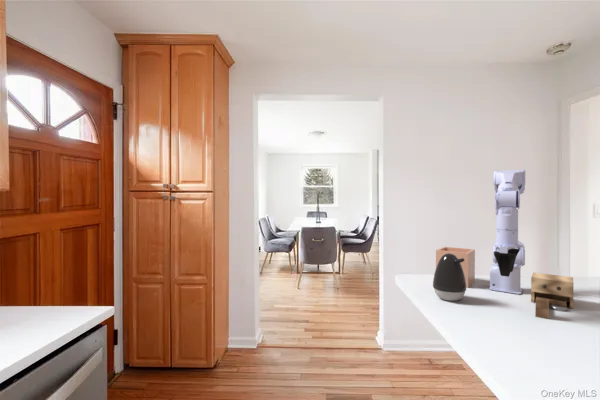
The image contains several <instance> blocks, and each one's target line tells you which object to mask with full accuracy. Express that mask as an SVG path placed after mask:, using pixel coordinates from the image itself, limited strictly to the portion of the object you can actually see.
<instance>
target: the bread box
mask: <svg viewBox="0 0 600 400" xmlns="http://www.w3.org/2000/svg"><path fill="white" fill-rule="evenodd" d="M530 279H531V280H530V281H531V282H530V284H531V285H530V287H531V288H530V291H531V292H530V297H531V298H530V302H531V303H535V302H536V297H541V298H547V299H553V300H559V301H566V303H569V309H571V310H574V277H573V276H566V275H559V274H558V275H557V274H549V273H540V272H533V273H532V275H531V277H530Z"/></svg>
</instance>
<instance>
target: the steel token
mask: <svg viewBox="0 0 600 400" xmlns="http://www.w3.org/2000/svg"><path fill="white" fill-rule="evenodd" d="M549 309H551V310H553V311H557V312H563V313H565V312H568V307H567V305H566V306H563V305H559V304H550V306H549Z"/></svg>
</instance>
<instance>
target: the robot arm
mask: <svg viewBox="0 0 600 400" xmlns="http://www.w3.org/2000/svg"><path fill="white" fill-rule="evenodd" d="M493 187H494V191H495V193H494V207H495V215H496V217H495V218H496V219H495V220H496V221H495V231H496V232H495V238H496V239H495V242H494V243H493V247H492V248H493V249H492V263H493V264H491V265H490V269H489V290H491V291H497V292H501V293H502V292H503V293H509V294H510V293H511V294H514V295H516V294H517V295H521V294H522V291H523V288H522V287H521V269H522V267H524V266H525V265H526V250H525V245H524V243H522V242H521V241H519V210H520V207H521V195H522V194H524V193H525V189H526V170H525V169H523V168H522V169H507V170H506V169H505V170H503V169H502V170H497V169H496V170H494V171H493Z"/></svg>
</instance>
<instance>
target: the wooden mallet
mask: <svg viewBox="0 0 600 400" xmlns="http://www.w3.org/2000/svg"><path fill="white" fill-rule="evenodd" d="M550 304H559V305H563V306H566V307H567V302H566V301H559V300H553V299H547V298H541V297H536V298H535V318H540V319H545V320H549V319H550Z"/></svg>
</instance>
